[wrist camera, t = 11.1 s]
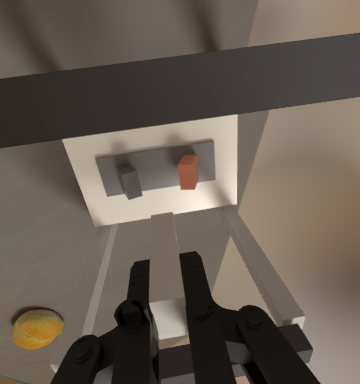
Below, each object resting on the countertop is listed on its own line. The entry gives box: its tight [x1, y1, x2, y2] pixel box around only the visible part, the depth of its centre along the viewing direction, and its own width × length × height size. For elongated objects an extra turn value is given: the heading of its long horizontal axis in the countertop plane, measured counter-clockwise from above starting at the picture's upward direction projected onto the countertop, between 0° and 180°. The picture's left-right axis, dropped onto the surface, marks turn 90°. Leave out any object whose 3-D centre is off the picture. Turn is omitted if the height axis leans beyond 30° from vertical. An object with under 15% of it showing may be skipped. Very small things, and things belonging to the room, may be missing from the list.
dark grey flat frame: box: [0, 33, 360, 384], centre depth 11 cm, size 18×20×2 cm
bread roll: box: [12, 309, 64, 349], centre depth 41 cm, size 8×9×4 cm
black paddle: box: [116, 163, 143, 200], centre depth 24 cm, size 2×3×3 cm, turn 6°
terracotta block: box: [178, 154, 199, 190], centre depth 24 cm, size 2×3×3 cm, turn 7°
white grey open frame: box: [49, 114, 305, 373], centre depth 21 cm, size 20×20×20 cm
